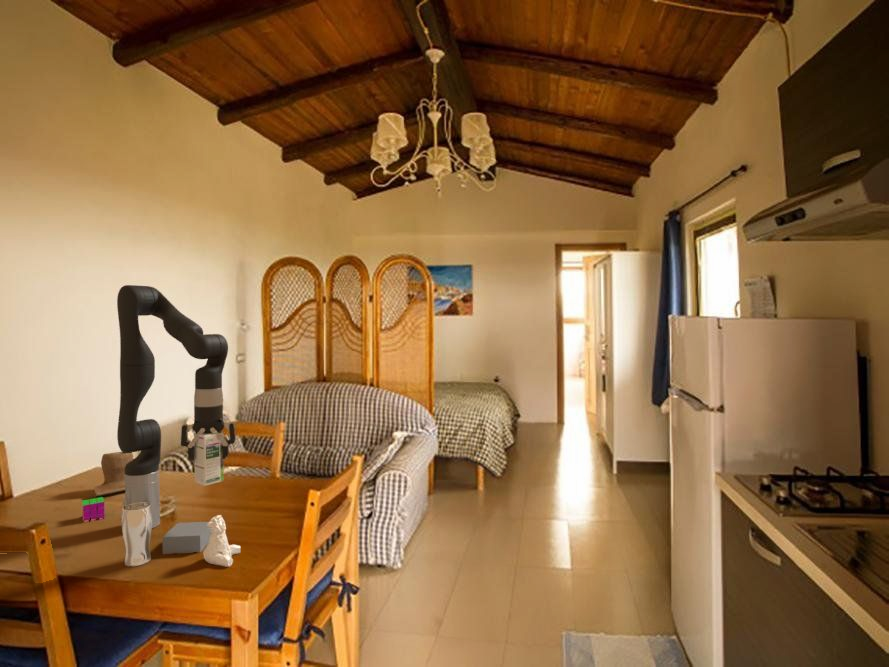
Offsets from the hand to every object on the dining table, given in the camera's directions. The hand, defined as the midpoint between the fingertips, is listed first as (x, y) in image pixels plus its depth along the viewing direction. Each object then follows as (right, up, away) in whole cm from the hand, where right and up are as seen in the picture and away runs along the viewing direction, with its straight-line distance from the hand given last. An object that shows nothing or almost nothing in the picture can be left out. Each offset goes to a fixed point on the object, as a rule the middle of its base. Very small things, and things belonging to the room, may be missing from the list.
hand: (208, 459), depth 148 cm
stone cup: (-57, -24, +46) cm, 77 cm away
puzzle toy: (-47, -24, +20) cm, 56 cm away
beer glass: (-14, -25, -11) cm, 31 cm away
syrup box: (0, -7, 0) cm, 7 cm away
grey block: (-5, -25, -1) cm, 25 cm away
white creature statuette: (+8, -25, -10) cm, 28 cm away
